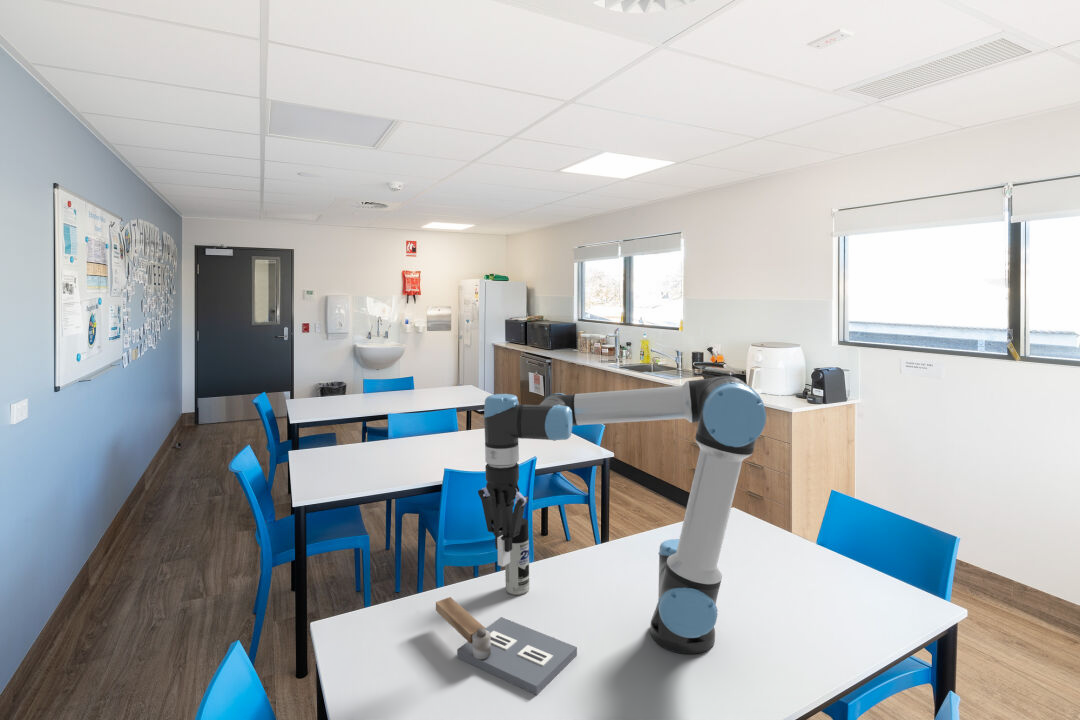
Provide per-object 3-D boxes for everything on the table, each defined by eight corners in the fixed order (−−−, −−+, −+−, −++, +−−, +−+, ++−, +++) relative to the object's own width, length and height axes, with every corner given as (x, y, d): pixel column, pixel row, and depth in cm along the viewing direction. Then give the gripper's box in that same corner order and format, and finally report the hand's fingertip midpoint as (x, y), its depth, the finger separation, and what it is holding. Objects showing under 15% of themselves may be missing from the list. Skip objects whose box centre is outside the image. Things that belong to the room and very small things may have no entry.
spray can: (520, 598, 155) (520, 527, 153) (500, 591, 159) (499, 522, 157) (533, 587, 161) (533, 519, 159) (514, 581, 164) (513, 514, 162)
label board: (576, 655, 130) (576, 645, 130) (536, 695, 117) (536, 684, 117) (501, 624, 143) (501, 615, 143) (457, 657, 130) (457, 647, 129)
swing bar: (450, 614, 143) (450, 593, 143) (494, 654, 127) (493, 631, 126) (436, 619, 141) (435, 598, 140) (478, 661, 125) (478, 638, 124)
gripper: (469, 462, 129) (471, 562, 132) (515, 472, 122) (517, 577, 124) (490, 455, 135) (492, 550, 138) (535, 463, 128) (536, 564, 130)
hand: (504, 563), depth 131 cm, fingers closed
